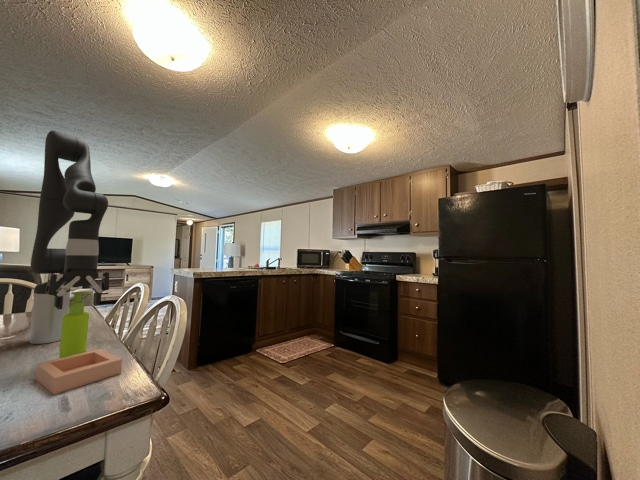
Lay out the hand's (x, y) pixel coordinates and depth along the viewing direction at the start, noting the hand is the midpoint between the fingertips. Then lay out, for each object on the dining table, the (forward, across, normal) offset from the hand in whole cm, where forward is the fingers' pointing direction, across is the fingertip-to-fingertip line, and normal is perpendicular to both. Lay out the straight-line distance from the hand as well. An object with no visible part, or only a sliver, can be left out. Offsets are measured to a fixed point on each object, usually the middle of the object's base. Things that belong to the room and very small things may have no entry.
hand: (78, 306), depth 79 cm
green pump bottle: (+16, 0, 0) cm, 16 cm away
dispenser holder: (+15, +4, +16) cm, 22 cm away
